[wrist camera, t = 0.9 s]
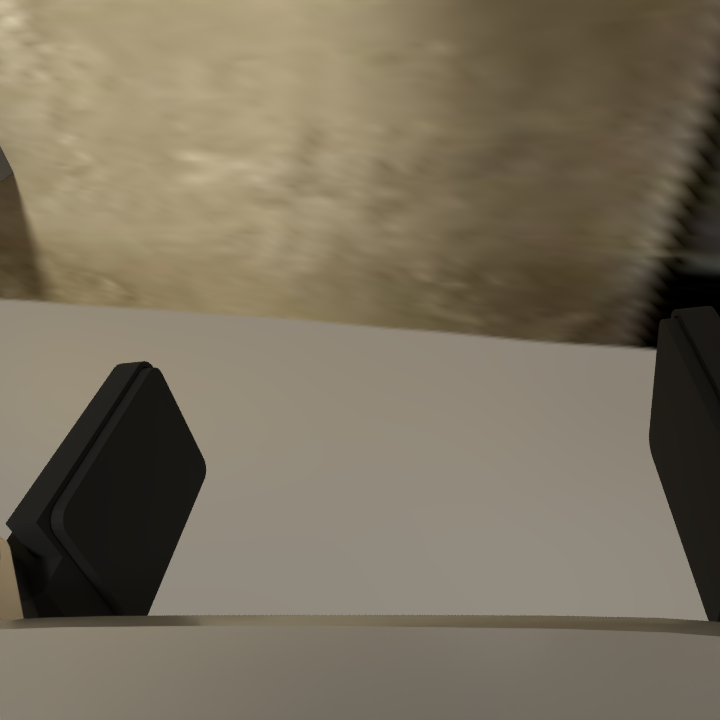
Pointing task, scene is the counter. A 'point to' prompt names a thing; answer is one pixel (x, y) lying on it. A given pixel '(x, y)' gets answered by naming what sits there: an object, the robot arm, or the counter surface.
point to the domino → (4, 166)
